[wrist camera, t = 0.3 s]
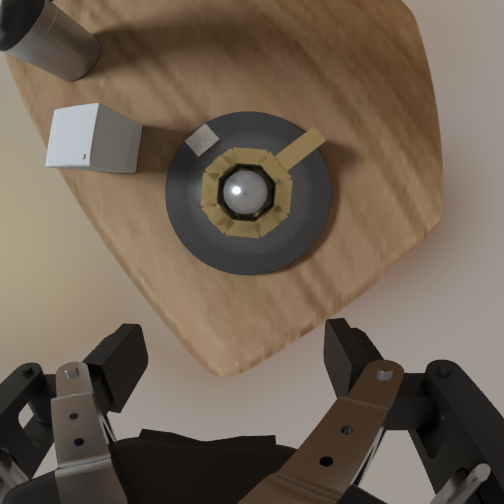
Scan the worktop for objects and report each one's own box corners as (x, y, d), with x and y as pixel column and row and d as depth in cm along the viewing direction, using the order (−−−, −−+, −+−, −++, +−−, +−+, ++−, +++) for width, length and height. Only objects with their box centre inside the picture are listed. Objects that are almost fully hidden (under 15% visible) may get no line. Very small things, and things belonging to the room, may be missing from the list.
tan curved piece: (241, 249, 37) (239, 256, 33) (189, 188, 36) (181, 187, 32) (338, 171, 35) (348, 168, 31) (287, 109, 34) (290, 99, 29)
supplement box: (144, 124, 36) (101, 101, 24) (136, 173, 37) (89, 168, 25) (102, 125, 36) (53, 107, 24) (95, 172, 37) (43, 168, 25)
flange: (139, 186, 38) (117, 185, 31) (258, 85, 35) (257, 65, 28) (238, 302, 41) (234, 322, 34) (358, 205, 38) (377, 208, 31)
